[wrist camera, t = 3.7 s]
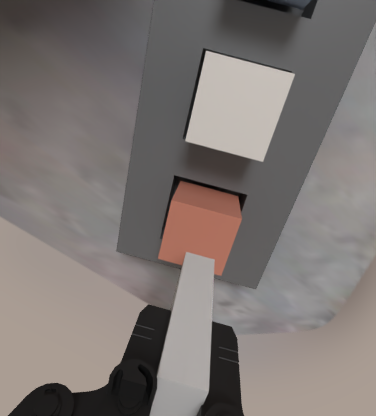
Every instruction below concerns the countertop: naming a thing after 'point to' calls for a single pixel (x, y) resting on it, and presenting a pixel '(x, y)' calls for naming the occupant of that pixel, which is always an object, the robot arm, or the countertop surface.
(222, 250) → the key red
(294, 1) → the key blue
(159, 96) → the frame
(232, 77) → the key white
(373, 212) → the countertop surface
